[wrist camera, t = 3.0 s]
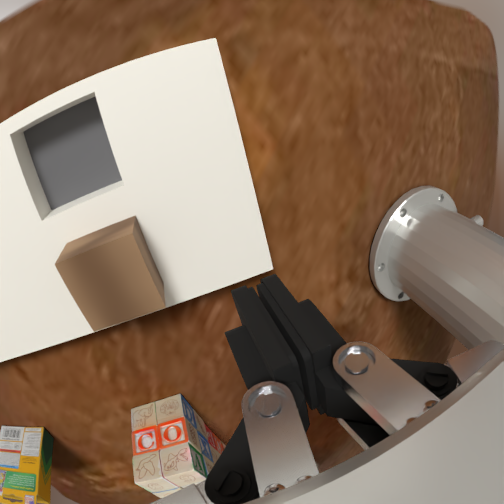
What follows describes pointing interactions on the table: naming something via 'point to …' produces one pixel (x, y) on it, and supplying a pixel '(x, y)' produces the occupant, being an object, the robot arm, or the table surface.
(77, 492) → the table surface
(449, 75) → the table surface
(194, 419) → the stack of blocks
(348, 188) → the table surface
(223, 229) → the trap board
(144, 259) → the walnut block
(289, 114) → the table surface
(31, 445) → the crayon box
